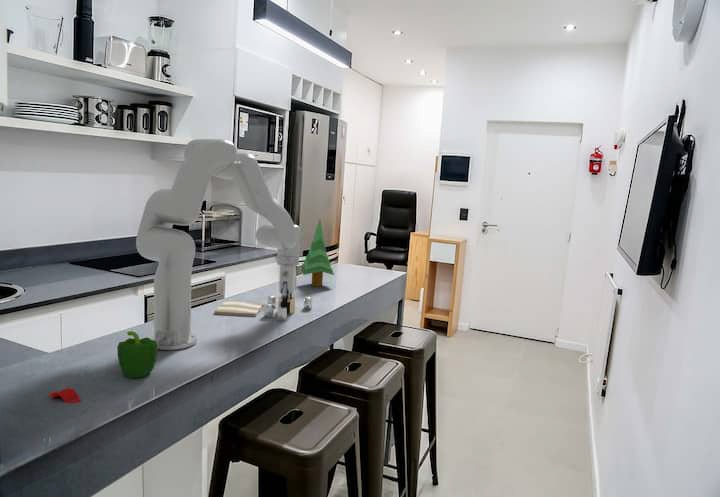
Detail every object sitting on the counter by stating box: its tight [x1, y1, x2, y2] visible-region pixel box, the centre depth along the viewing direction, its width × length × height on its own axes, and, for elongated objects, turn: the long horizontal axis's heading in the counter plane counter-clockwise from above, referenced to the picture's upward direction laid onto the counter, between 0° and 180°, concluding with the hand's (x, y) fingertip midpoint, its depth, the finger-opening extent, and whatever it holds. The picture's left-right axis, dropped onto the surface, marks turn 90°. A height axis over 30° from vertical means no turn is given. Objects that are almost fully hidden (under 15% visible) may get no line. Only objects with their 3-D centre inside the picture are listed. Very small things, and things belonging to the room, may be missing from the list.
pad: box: [213, 300, 265, 317], centre depth 176 cm, size 14×14×1 cm
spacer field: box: [263, 293, 313, 322], centre depth 177 cm, size 23×16×4 cm
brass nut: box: [277, 296, 296, 315], centre depth 177 cm, size 5×6×5 cm
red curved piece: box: [48, 387, 82, 404], centre depth 104 cm, size 8×3×2 cm, turn 68°
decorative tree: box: [300, 218, 335, 287], centre depth 220 cm, size 14×16×30 cm
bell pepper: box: [117, 330, 158, 379], centre depth 117 cm, size 8×8×10 cm
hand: (286, 310), depth 178 cm, fingers closed on brass nut, 5 cm apart
